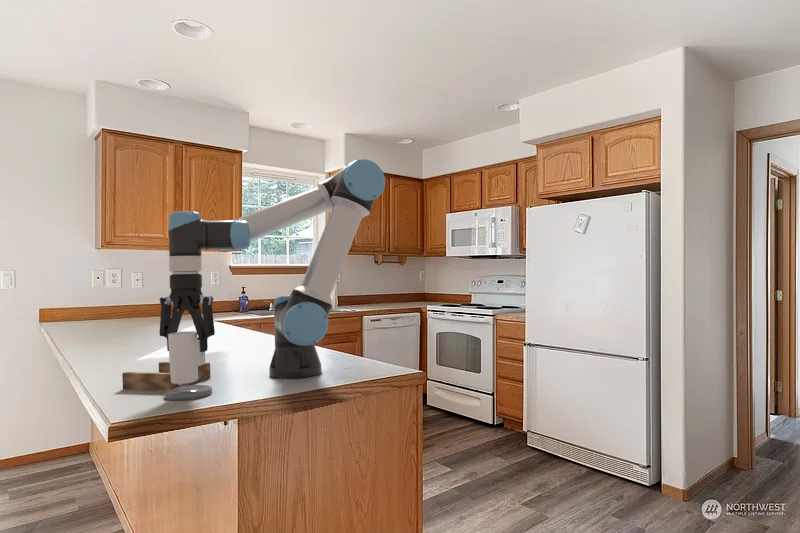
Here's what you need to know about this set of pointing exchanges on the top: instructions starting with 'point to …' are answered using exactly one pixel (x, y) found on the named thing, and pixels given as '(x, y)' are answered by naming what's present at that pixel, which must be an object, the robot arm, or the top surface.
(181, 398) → the disc
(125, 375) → the rack
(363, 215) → the robot arm
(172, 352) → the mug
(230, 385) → the top surface
